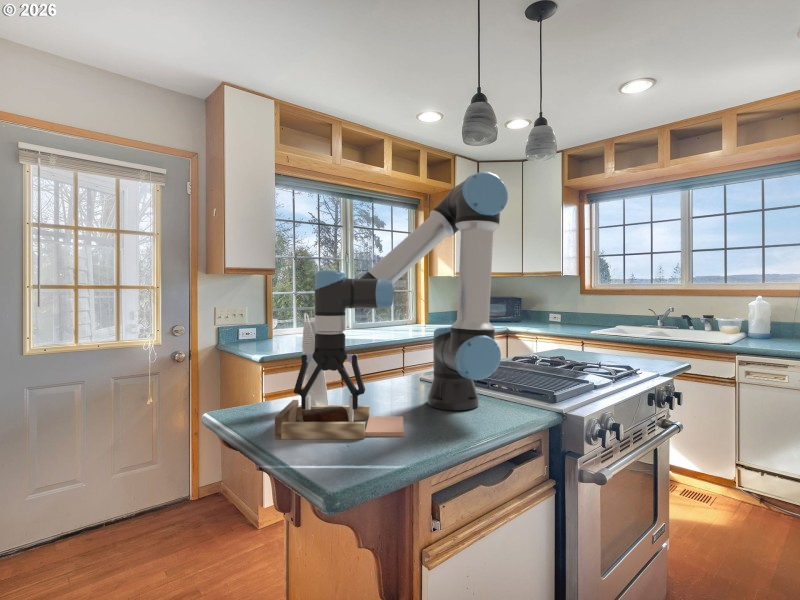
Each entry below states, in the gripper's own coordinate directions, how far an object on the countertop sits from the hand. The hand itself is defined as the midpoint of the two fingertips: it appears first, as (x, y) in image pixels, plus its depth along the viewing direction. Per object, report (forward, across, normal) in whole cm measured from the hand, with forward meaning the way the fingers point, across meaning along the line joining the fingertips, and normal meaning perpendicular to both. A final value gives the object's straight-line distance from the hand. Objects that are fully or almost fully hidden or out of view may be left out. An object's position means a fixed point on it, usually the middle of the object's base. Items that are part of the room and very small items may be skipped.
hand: (329, 422), depth 106 cm
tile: (+1, -14, 0) cm, 14 cm away
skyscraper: (+2, +7, -18) cm, 19 cm away
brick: (+2, -1, 0) cm, 2 cm away
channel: (+1, 0, 0) cm, 1 cm away
